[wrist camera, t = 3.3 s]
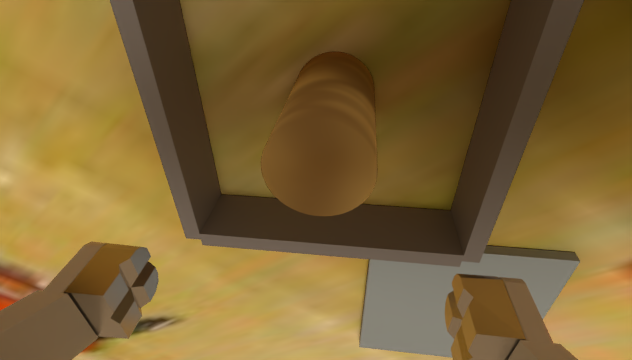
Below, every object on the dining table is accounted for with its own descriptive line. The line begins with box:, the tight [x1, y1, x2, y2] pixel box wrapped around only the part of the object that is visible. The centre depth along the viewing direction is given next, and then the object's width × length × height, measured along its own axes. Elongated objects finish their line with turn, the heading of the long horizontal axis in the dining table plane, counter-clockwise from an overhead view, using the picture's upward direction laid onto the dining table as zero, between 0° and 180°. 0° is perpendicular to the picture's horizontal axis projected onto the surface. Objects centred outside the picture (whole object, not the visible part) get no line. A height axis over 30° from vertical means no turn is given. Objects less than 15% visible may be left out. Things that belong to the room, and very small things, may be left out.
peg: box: [261, 52, 378, 216], centre depth 16 cm, size 4×4×8 cm
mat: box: [359, 246, 580, 357], centre depth 29 cm, size 14×14×1 cm
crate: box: [110, 0, 584, 267], centre depth 18 cm, size 18×18×4 cm
